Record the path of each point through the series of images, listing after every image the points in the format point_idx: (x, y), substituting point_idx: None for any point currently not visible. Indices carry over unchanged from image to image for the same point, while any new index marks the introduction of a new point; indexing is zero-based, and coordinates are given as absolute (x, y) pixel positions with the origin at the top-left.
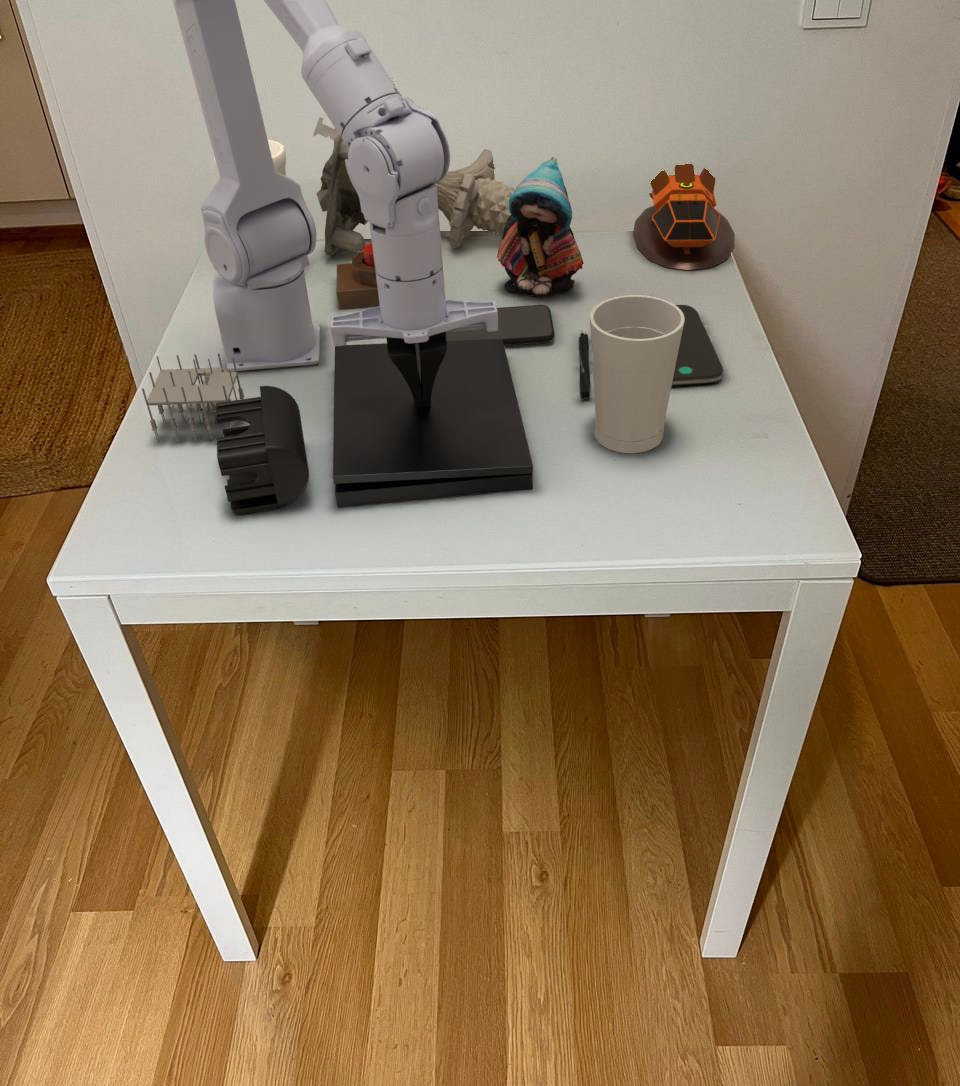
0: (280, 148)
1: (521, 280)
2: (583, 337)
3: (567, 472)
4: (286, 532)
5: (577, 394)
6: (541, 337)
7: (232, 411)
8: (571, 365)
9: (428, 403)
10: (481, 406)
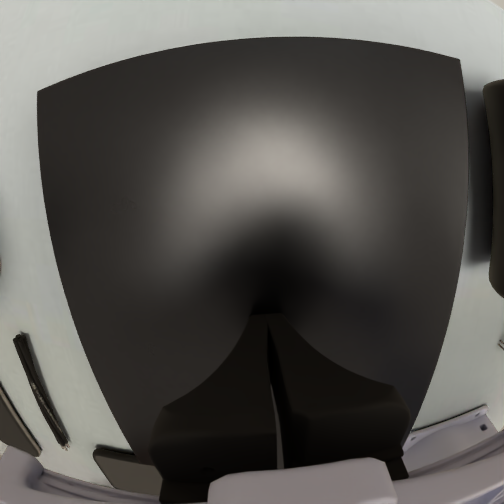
0: None
1: None
2: (57, 439)
3: (21, 150)
4: (473, 46)
5: (36, 350)
6: (103, 455)
7: None
8: (62, 407)
9: (252, 317)
10: (132, 308)
